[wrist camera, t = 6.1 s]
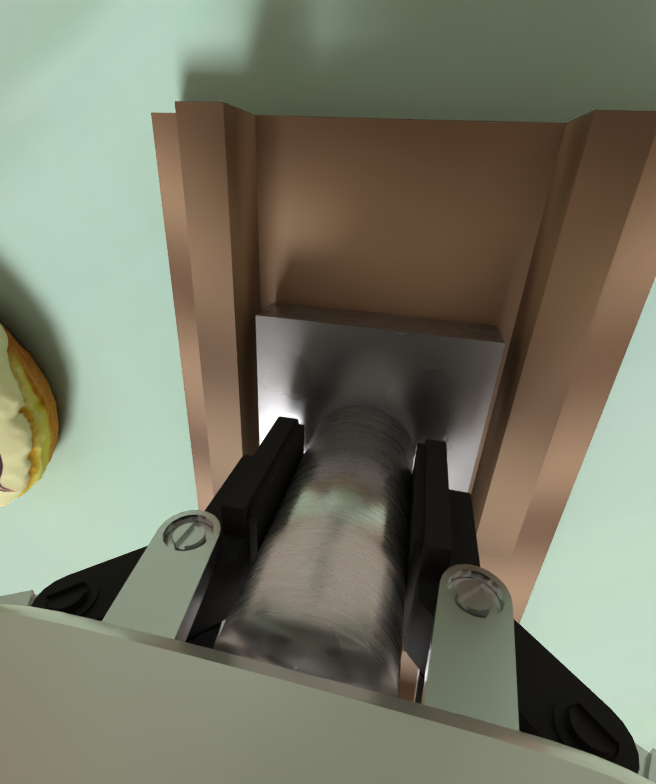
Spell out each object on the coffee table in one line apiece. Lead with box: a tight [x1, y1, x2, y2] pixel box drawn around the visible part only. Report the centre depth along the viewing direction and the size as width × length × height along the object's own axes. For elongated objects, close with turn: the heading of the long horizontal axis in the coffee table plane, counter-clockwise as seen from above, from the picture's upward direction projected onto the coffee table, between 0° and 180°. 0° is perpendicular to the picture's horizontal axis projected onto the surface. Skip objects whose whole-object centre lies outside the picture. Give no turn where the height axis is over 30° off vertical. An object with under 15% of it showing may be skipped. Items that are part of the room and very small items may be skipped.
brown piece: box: [151, 101, 656, 702], centre depth 15 cm, size 24×14×6 cm, turn 177°
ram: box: [214, 302, 505, 698], centre depth 12 cm, size 12×7×8 cm, turn 177°
